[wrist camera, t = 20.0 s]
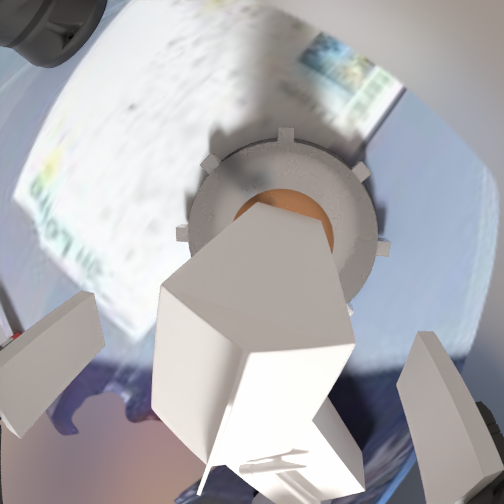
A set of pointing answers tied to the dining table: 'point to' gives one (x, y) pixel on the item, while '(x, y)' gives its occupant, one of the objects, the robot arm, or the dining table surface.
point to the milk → (250, 338)
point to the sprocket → (292, 201)
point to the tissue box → (310, 464)
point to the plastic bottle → (260, 500)
